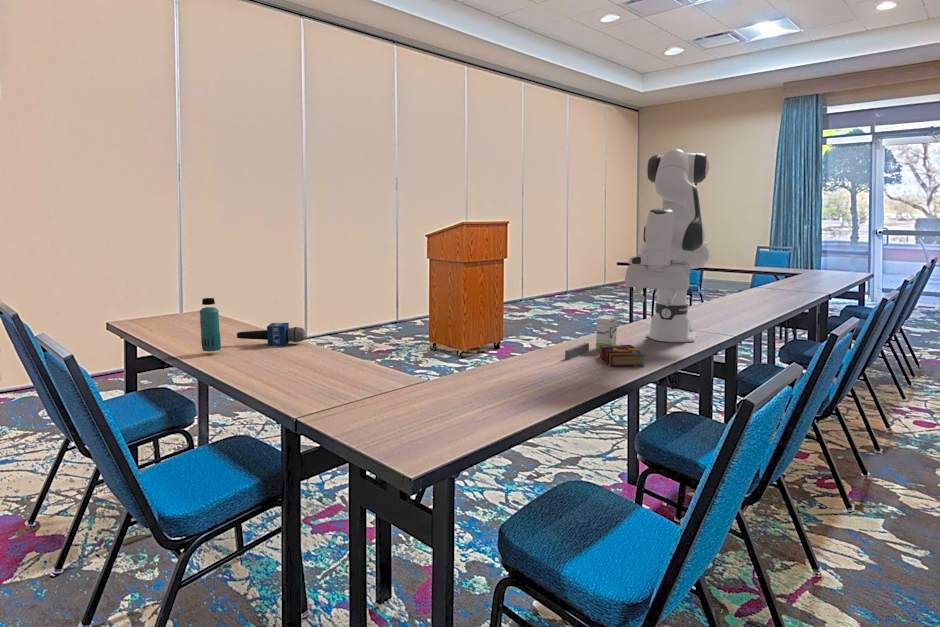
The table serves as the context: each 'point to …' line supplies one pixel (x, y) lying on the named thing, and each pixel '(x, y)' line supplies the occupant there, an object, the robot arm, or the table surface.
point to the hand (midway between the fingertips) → (655, 302)
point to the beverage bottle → (210, 326)
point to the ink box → (606, 331)
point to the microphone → (276, 334)
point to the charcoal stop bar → (576, 350)
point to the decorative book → (621, 355)
